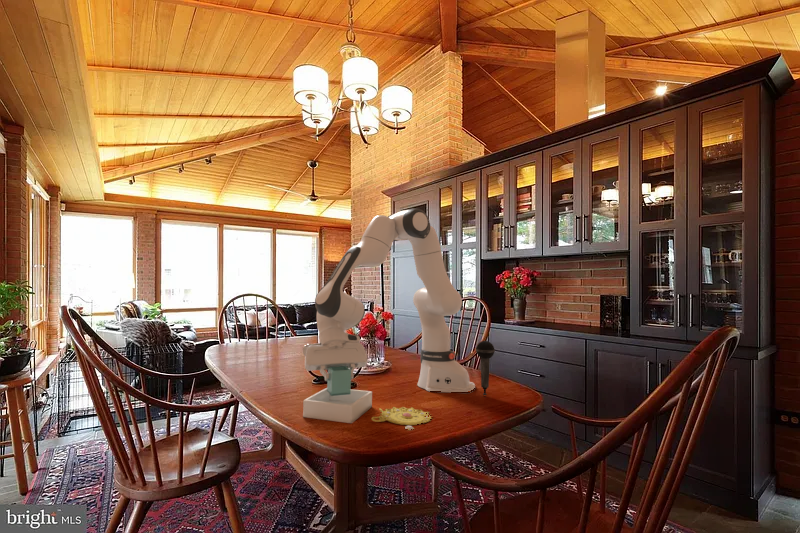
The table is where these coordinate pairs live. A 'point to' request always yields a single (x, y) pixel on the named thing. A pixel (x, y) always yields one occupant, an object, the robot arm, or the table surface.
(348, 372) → the block
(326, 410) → the white open box
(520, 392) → the table surface
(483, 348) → the microphone
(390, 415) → the decorative object
